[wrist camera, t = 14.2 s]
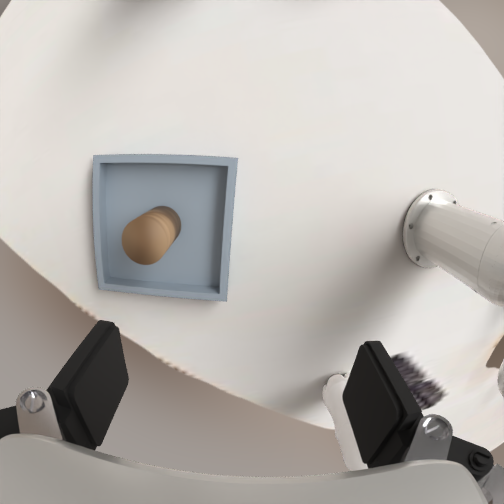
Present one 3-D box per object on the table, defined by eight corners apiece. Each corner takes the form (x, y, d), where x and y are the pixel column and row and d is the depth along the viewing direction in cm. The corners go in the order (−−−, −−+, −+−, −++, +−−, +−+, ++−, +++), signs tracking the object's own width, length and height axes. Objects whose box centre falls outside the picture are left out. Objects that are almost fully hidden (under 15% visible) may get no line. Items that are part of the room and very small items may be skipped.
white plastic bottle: (356, 388, 49) (403, 493, 25) (321, 400, 49) (356, 511, 25) (355, 363, 46) (412, 476, 23) (317, 375, 47) (359, 498, 23)
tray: (237, 158, 35) (237, 158, 32) (227, 291, 40) (226, 301, 37) (103, 154, 33) (93, 155, 30) (106, 280, 39) (98, 289, 36)
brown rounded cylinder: (182, 207, 35) (167, 219, 28) (180, 245, 37) (165, 267, 29) (145, 204, 35) (121, 216, 27) (144, 242, 36) (122, 262, 29)
